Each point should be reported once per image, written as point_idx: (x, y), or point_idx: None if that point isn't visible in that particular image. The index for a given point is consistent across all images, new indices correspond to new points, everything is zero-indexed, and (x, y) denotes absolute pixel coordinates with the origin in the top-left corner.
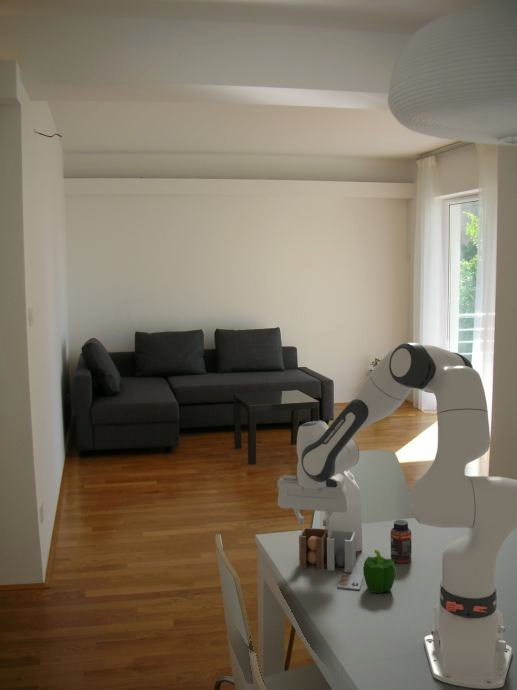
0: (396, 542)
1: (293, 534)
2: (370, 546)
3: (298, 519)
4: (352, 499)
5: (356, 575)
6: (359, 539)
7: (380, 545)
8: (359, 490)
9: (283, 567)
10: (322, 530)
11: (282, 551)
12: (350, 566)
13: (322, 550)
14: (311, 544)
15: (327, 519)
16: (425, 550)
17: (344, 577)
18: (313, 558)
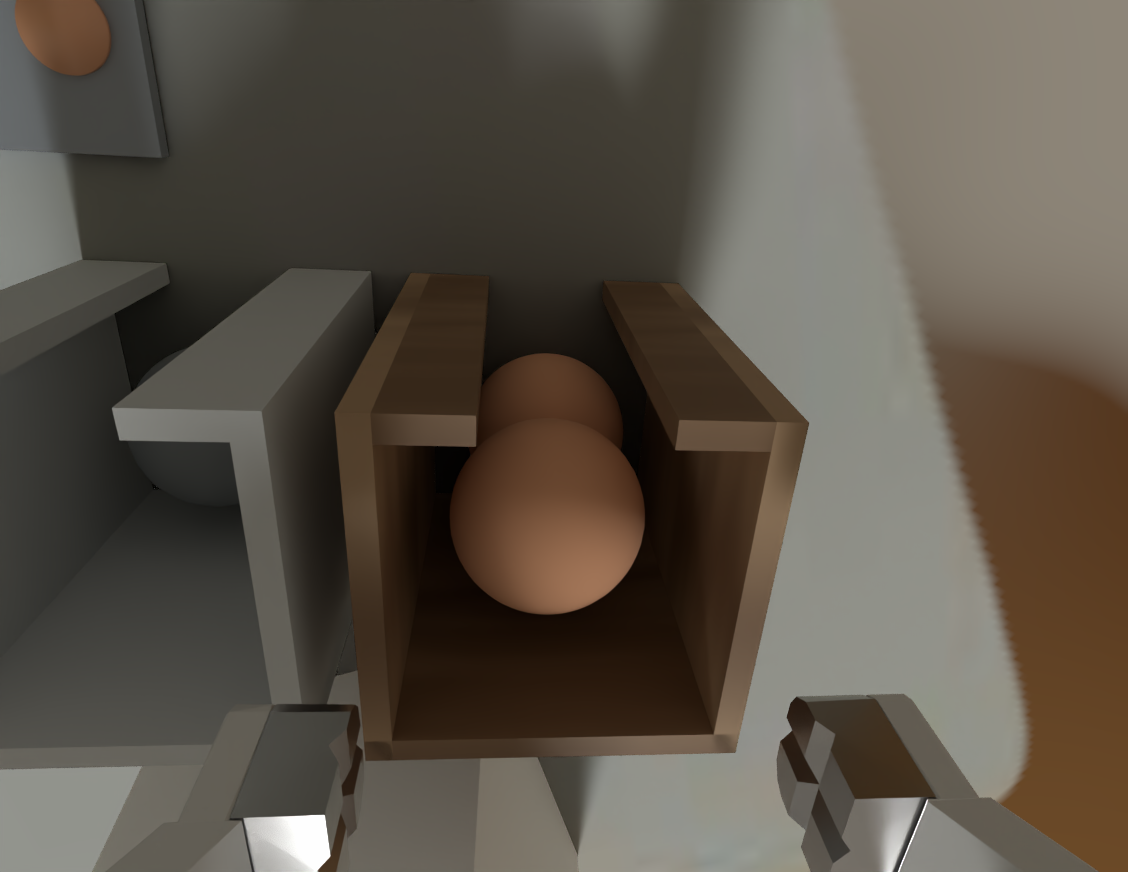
0: None
1: (776, 847)
2: (126, 796)
3: (949, 768)
4: None
5: None
6: (143, 810)
7: (52, 826)
8: None
9: (844, 244)
10: (447, 730)
11: (857, 577)
12: (60, 274)
13: (389, 337)
14: (572, 437)
15: (170, 850)
16: None
17: (78, 33)
18: (536, 363)
